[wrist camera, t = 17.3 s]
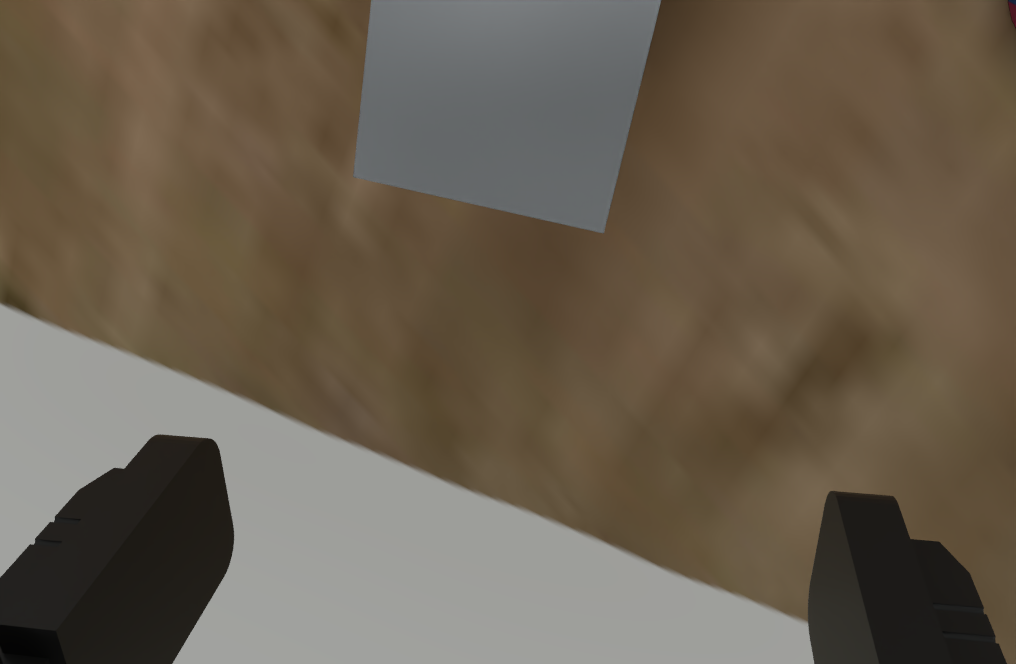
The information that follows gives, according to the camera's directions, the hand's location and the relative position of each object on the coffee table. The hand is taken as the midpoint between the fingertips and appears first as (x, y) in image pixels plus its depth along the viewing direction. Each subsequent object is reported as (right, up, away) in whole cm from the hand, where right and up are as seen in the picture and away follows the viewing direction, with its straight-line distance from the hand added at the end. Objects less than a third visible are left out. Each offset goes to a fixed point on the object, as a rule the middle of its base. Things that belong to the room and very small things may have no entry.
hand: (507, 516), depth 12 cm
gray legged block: (+2, +16, +23) cm, 28 cm away
